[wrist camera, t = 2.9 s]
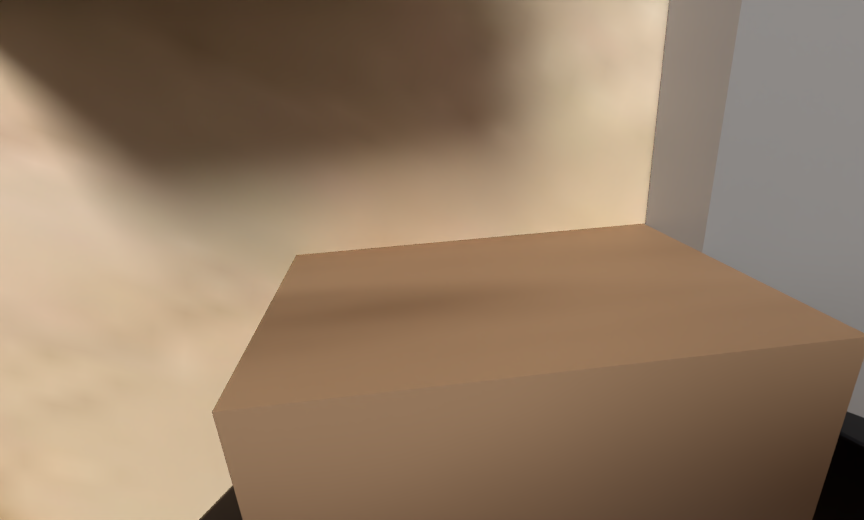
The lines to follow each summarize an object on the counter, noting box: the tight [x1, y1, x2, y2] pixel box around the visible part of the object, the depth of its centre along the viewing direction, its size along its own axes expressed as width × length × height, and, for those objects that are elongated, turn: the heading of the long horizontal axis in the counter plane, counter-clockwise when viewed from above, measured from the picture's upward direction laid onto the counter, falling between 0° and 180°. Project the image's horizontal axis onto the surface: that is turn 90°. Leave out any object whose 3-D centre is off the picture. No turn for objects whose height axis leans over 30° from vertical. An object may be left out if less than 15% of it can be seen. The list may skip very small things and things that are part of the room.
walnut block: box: [212, 224, 864, 520], centre depth 7 cm, size 6×6×4 cm
